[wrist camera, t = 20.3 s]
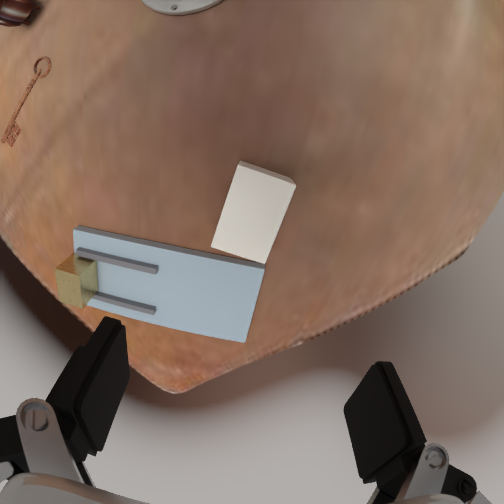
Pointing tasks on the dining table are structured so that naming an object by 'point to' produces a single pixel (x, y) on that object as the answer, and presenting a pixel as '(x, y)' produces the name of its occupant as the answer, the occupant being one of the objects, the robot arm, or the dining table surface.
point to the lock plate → (171, 284)
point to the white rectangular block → (253, 212)
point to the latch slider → (77, 280)
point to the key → (27, 91)
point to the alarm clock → (15, 12)
